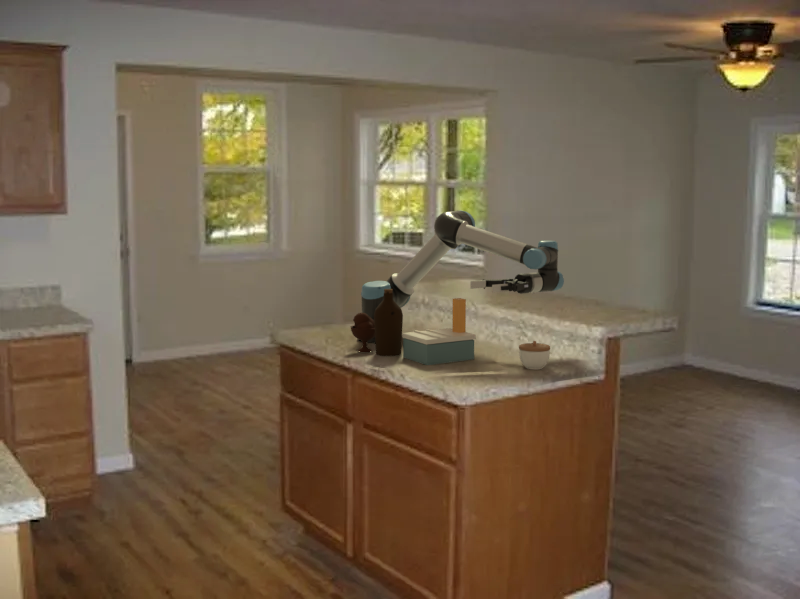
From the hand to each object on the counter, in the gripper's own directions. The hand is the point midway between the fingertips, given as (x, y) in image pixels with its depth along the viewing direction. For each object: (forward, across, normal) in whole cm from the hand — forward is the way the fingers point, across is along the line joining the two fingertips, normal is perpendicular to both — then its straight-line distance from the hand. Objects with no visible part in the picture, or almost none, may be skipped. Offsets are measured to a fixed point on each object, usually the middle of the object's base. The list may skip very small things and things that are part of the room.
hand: (481, 286), depth 329 cm
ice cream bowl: (+33, +30, -26) cm, 51 cm away
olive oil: (+30, +17, -26) cm, 43 cm away
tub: (+19, 0, -26) cm, 32 cm away
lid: (+19, 0, -17) cm, 26 cm away
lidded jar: (-3, -27, -26) cm, 38 cm away
